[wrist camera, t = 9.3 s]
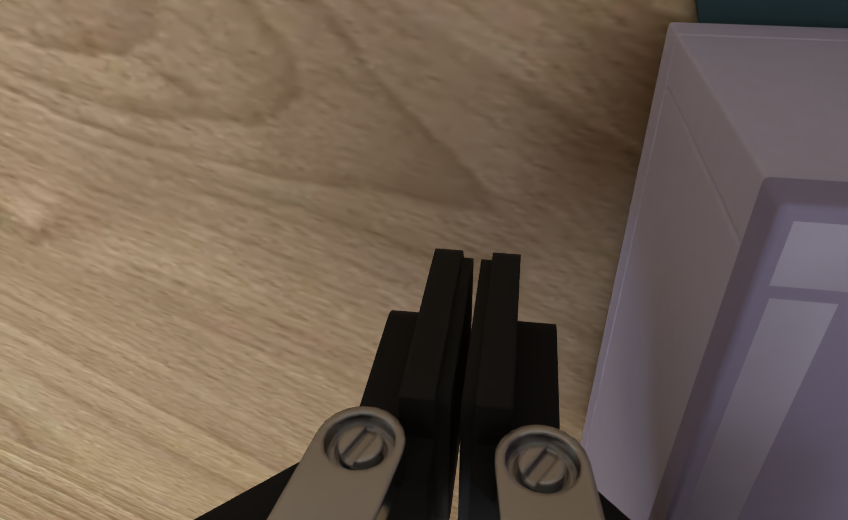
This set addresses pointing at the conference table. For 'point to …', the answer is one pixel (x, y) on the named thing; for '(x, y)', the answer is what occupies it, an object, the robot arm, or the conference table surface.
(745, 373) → the lavender lidded box
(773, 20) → the mat
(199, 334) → the conference table surface
